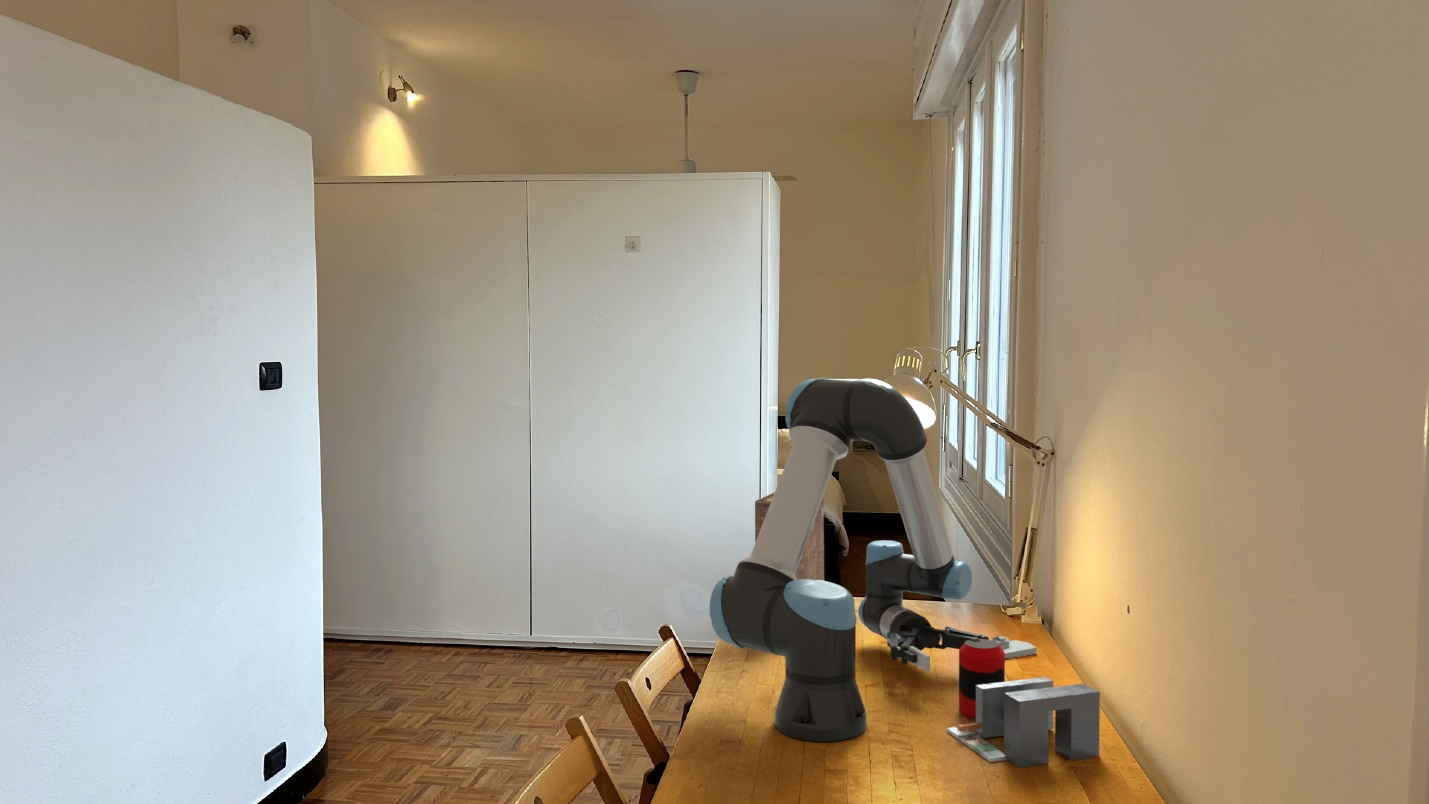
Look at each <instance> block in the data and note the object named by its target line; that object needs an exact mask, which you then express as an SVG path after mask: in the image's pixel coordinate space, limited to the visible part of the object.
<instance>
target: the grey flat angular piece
mask: <svg viewBox="0 0 1429 804" xmlns="http://www.w3.org/2000/svg"><path fill="white" fill-rule="evenodd" d="M991 639H992V641H995V642H997V643H998V644H999V646H1000V647H1001V648H1002V650H1003V651H1004V652H1005V658H1010V659H1016V658H1015V657H1017V658H1022V657H1021V656H1023V657H1026V656H1025V655H1030V656H1034V655H1033V654H1036V655H1037V650H1038V649H1037V648H1038V647H1036V646H1035V645H1033V644H1032V643H1029V642H1028V641H1020V640H1017V639H1015V640H1010V639H1009V638H1008V637H1007V636H1005V635H1002V636H1000V634H999V633H997V635H996V636H994V637H991Z"/></svg>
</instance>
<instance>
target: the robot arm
mask: <svg viewBox="0 0 1429 804" xmlns="http://www.w3.org/2000/svg"><path fill="white" fill-rule="evenodd" d="M785 405H786V406H785V413H787V415H786V416H785V417H784V418H785V424H786V427H787V429H788V431H789V433H788V436H789V439H790V440H791V442H792V447H791V449H790V452H789V454H788V457H787V459H786V462H785V465H784V468H783V470H782V472H781V476H780V478H779V480H778V483H777V485H776V488H775V491H774V492H775V493H774V496H773V498H772V501H771V504H770V506H769V509H768V511H767V514H766V517H765V519H764V522H763V524H762V527H761V530H760V532H759V535H758V537H757V540H756V543H755V542H754V546H753V548H752V550H751V554H750V556H749V557H747V558H745V559H742V560H739V562H738V564H737V566H736V568H735V571H734V574H733V575H728V576H724V577H722V579H719V580H718V581H717V583H715V585H714V586H713V590H712V591H711V595H710V598H709V599H710V600H709V618H710V620H711V627H712V629H713V631H714V633H715V634H716V636H717V637H718V638H719V639H720V640H721V641H723V642H725V643H727V644H730V645H734V646H736V647H737V648H740V649H748V650H749V649H750V650H753V651H758V652H763V653H767V654H768V653H769V654H773V655H775V656H780V657H784V662H785V663H784V664H785V665H784V667H785V668H784V669H785V671H784V672H785V673H784V674H785V677H784V682H783V685H782V688H781V691H780V694H779V698H778V701H777V702H776V703H777V704H776V707H775V712H774V718H775V719H774V724H775V728H776V729H777V728H778V729H777V730H778V731H779V730H780V731H779V732H781V731H782V732H781V733H782V734H784V735H786V736H788V735H789V737H791V738H794V737H795V738H794V739H797V740H798V739H799V740H804V741H811V742H838V741H845V740H849V739H852V738H855V737H858V736H860V735H861V734H863V733H864V732H865V730H866V729H867V711H866V707H865V705H864V701H863V699H862V696H861V694H860V693H861V692H860V690H859V687H858V683H857V679H856V651H857V650H856V649H857V648H856V641H857V638H856V630H857V629H856V628H857V627H856V625H857V619H858V618H859V621H860V622H861V623H862V624H863V626H865V627H866V628H867V629H868V630H869V631H870V632H871V633H874V634H876V635H879V636H880V637H882V638H884V639H885V640H886V642H887V644H886V645H887V647H888V648H890V649H889V650H890V651H889V652H890V660H891V661H898V659H899V658H900V664H901V665H908V662H909V663H911V664H912V665H915V666H917V667H918V668H920V669H921V670H923V671H924V672H926V673H927V672H930V671H931V655H929V654H927V653H926V652H924V651H923V650H924V649H938V650H939V649H940V650H946V649H947V648H948V649H949V648H950V649H955V650H959V649H960V648H961V647H962V645H963V644H964V643H965V641H967V640H970V639H987V640H990V637H989V636H988V635H983V634H981V633H980V634H979V633H973V632H970V631H966V630H965V631H964V630H962V629H961V630H959V629H956V628H953V627H951V626H945V627H944V629H939V628H935V627H933V626H932V625H931V623H930V622H929V620H928V619H927V618H926V617H925V616H923V615H921V614H919V613H917V612H916V611H914V610H912V609H910V608H907V607H905V606H904V605H903V598H904V597H903V596H904V592H908V593H914V594H919V595H925V596H932V597H937V598H942V599H949V600H963V599H964V598H965V597H967V596H968V593H969V592H970V590H971V587H972V584H973V572H972V568H971V567H970V565H968V563H967V562H965V561H960V560H958V559H957V560H956V559H955V557H954V553H953V550H952V546H951V542H950V539H949V536H948V535H949V534H948V532H947V528H946V524H945V521H944V517H943V514H942V511H941V506H940V504H939V503H940V502H939V498H938V496H937V492H936V489H935V486H934V482H933V481H934V480H933V478H932V473H931V471H930V467H929V464H928V460H927V457H926V452H925V449H926V447H927V445H928V439H927V435H926V433H925V429H924V426H923V424H922V422H921V419H920V417H919V416H918V414H917V412H916V411H915V409H914V408H913V406H912V404H910V402H909V401H908V400H907V398H906V397H905V396H904V395H903V394H902V393H900V392H899V390H897V389H896V388H895V387H894V386H892V385H890V384H889V383H886V382H884V381H882V380H879V379H875V378H859V379H858V378H845V379H844V378H829V377H819V378H812V379H806V380H803V381H802V382H800V383H799V384H797V385H796V387H794V388H793V389H792V391H791V393H790V395H789V396H788V400H787V402H786V404H785ZM854 441H855V442H868V443H870V444H872V445H873V447H874V449H875V453H876V455H877V457H878V458H879V459H881V460H882V461H884V464H885V466H886V467H885V468H886V470H887V473H888V477H889V480H890V483H891V486H892V489H893V492H894V496H895V499H896V503H897V506H898V510H899V513H900V516H901V519H902V522H903V525H904V529H905V532H906V536H907V540H908V542H909V545H910V546H909V547H910V548H911V552H912V554H908V553H907V554H906V553H904V552H905V550H904V547H903V543H901V542H898V541H896V540H885V539H883V540H874V541H871V542H870V543H868V544H867V546H866V555H865V556H866V558H865V564H864V565H865V573H866V575H865V577H866V578H865V582H866V583H865V586H866V591H865V592H866V593H865V597H864V598H863V599H862V600H861V602H860V604H859V606H858V611H857V613H858V618H857V616H856V615H857V614H856V606H855V599H854V597H853V595H852V593H851V592H850V590H848V589H846V588H845V587H843V586H842V585H839V584H837V583H834V582H830V581H827V580H826V581H825V580H824V581H822V580H811V579H799V580H797V578H796V576H795V573H796V570H797V567H798V565H799V562H800V559H801V556H802V554H803V551H804V548H805V545H806V543H807V540H808V537H809V534H810V531H811V529H812V526H813V523H814V520H815V518H816V515H817V512H818V509H819V507H820V504H821V501H822V498H823V495H824V496H825V494H826V493H825V492H826V490H827V486H828V485H829V481H830V479H831V475H832V473H833V471H834V468H835V465H836V462H837V461H838V460H841V459H843V458H845V457H846V456H847V455H848V454H849V450H850V448H851V444H852V443H853V442H854ZM940 642H941V644H940Z"/></svg>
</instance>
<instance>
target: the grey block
mask: <svg viewBox="0 0 1429 804" xmlns="http://www.w3.org/2000/svg"><path fill="white" fill-rule="evenodd" d="M1050 687H1054V680H1053V679H1051V678H1048V677H1046V676H1042V677H1035V678H1024V679H1016V680H1009V681H1008V680H1007V681H1005V682H998V683H989V684H981V685H976V719H975V722H971V723H963V724H957V727H958V730H959V731H960V732H962V731H969V730H970V731H975V733H976V734H977V735H978V736H979V737H980V738H982V739H987V738H988V739H989V738H996V737H1002V736H1003V737H1004V693H1008V692H1017V691H1025V690H1033V689H1042V688H1050ZM1053 729H1054V711H1048V731H1049V730H1053Z"/></svg>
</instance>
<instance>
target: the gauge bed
mask: <svg viewBox="0 0 1429 804" xmlns="http://www.w3.org/2000/svg"><path fill="white" fill-rule="evenodd" d="M1100 693H1101V692H1100V691H1099V690H1097V689H1095V688H1093V687H1091V686H1089V685H1087V684H1085V683H1076V684H1069V685H1060V686H1053V687H1050V688H1042V689H1033V690H1025V691H1017V692H1008V693H1004V736H1003V751H1001V750H999V748H997V747H996V746H995V745H993V744H992V743H989V742H988V741H987V740H985V739H984V738H981V737H980V736H978V735H977V734H976V732H973V730H969V731H962V732H960V731H959V730H958V726H952V727H946V732H947V733H948V734H950V735H951V736H953V737H954V738H955V739H957V740H958V741H960V742H961V743H962V744H964V745H965V746H967V747H968V748H970V749H971V750H972V751H974V752H975V753H976V754H978V755H979V756H980V757H982V758H983V759H985V760H986V761H988V762H989V763H996V762H1003V761H1009V762H1010V763H1012V764H1013V765H1015V766H1016V767H1017V768H1027V767H1034V766H1040V765H1048V764H1049V730H1048V711H1053V712H1054V711H1055V712H1054V713H1055V714H1054V715H1055V717H1054V750H1055V752H1057V753H1059V754H1061V755H1062V756H1064V757H1065V758H1067V759H1068V760H1070V761H1075V760H1082V759H1088V758H1090V759H1091V758H1097V757H1100V717H1101V716H1100V715H1101V713H1100V712H1101V711H1100V707H1101V706H1100V705H1101V704H1100V702H1101V701H1100V700H1101V699H1100V698H1101V697H1100V695H1101V694H1100Z"/></svg>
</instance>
